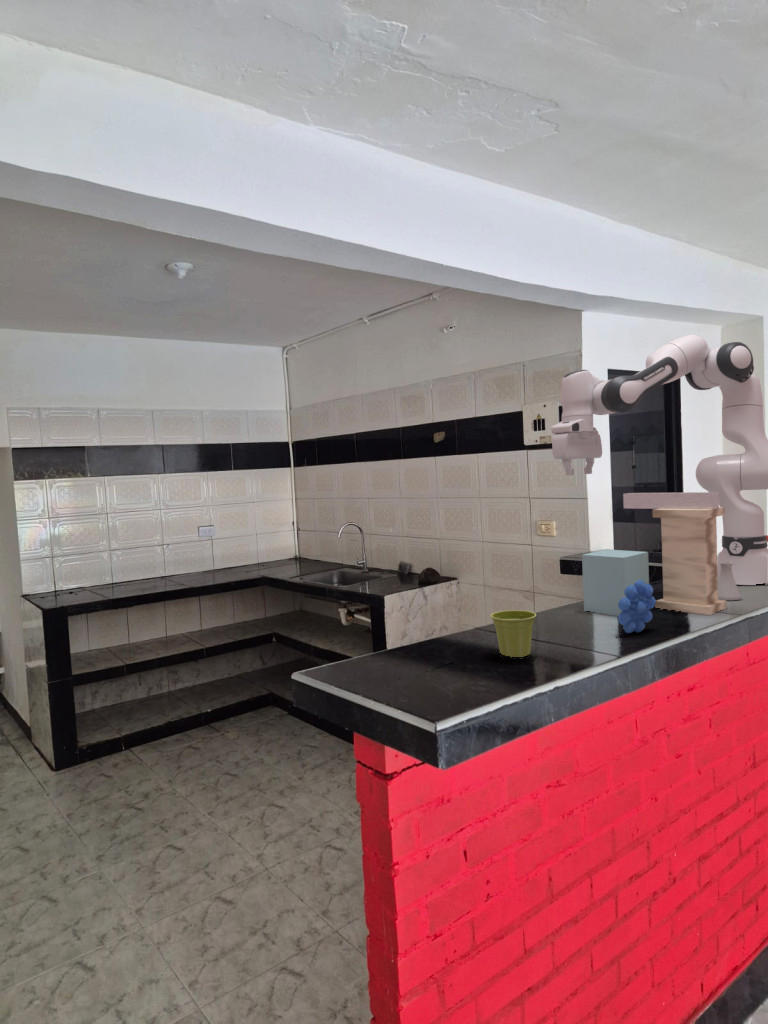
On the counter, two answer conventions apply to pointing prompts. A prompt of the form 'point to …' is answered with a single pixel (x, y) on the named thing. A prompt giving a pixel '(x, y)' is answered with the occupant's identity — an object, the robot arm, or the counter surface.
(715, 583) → the birch stand
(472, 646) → the counter surface
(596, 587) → the block
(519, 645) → the plant pot
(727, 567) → the flask
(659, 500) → the pink bar
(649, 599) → the grapes
